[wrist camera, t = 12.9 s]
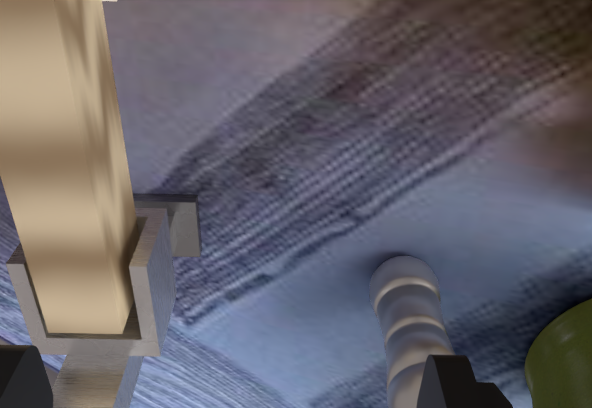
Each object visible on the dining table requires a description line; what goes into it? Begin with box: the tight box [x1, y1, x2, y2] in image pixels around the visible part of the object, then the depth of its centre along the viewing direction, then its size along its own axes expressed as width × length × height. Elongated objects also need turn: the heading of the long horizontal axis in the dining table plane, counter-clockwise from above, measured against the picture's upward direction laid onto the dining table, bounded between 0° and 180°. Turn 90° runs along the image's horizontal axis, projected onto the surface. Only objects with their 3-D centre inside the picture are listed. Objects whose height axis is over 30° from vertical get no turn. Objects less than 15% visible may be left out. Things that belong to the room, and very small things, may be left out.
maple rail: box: [0, 0, 140, 334], centre depth 30 cm, size 24×4×6 cm, turn 179°
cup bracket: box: [6, 194, 202, 408], centre depth 41 cm, size 12×8×22 cm, turn 179°
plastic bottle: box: [369, 256, 455, 408], centre depth 46 cm, size 6×7×20 cm
